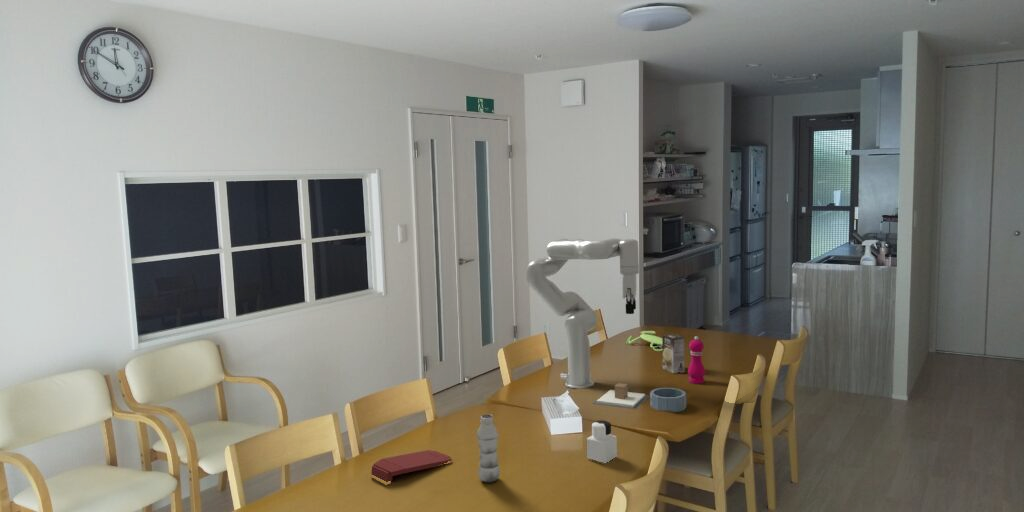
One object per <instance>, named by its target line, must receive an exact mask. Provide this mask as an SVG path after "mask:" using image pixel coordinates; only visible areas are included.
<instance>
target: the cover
mask: <svg viewBox="0 0 1024 512" xmlns="http://www.w3.org/2000/svg"><path fill="white" fill-rule="evenodd" d="M607 391H608V392H607ZM607 391H606V392H607V393H606V392H605V393H606V394H605V393H604V395H603V394H602V395H603V396H602V395H601V396H602V397H601V396H600V397H601V398H600V397H598V398H599V399H598V400H597V399H596V400H597V403H601V404H608V405H616V406H624V407H632V408H633V407H635V406H636V405H637V404H638V403H639V402H640V401H641V400H642V399H643V398H644V397H645V395H646V393H639V392H631V391H629V390H628V384H627V383H621V382H619V383H618V382H617V383H616V384H615V385H614V389H609V390H607Z"/></svg>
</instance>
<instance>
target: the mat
mask: <svg viewBox="0 0 1024 512" xmlns="http://www.w3.org/2000/svg"><path fill="white" fill-rule="evenodd" d="M608 391H609V390H607V391H606V392H605V393H604V394H606V393H607V392H608ZM604 394H602V395H600V396H599V397H598V399H599V398H601V397H602V396H603V395H604ZM648 398H650V395H647V394H645V397H644V398H643V399H642V400H641V401H640V402H639V403H638V404H637V405H636V406H635V407H633V408H632V407H624V406H616V405H608V404H601V403H597V400H598V399H596V400H594V401H593V402H592V403H591V404H592V405H597V406H598V405H599V406H605V407H612V408H613V407H615V408H623V409H629V410H637V409H638V408H639V407H640V406H641V405H643V403H645V402H646V401H647V400H648Z"/></svg>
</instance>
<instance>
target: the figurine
mask: <svg viewBox="0 0 1024 512" xmlns="http://www.w3.org/2000/svg"><path fill="white" fill-rule="evenodd" d="M656 334H657V331H654V330H643V331H640V334H639V335H640V336H638V337H636V338H633V337H634V336H633V335H630V336H629V337H628V338H627V340H626V342H625V345H629V344H630V345H631V344H633V343H634V342H636V341H638V340H640V339H641V340H643V341H645V342H648V343H650V344H649V345H650V346H649V347H650V348H652V350H653V351H655V352H663V343H662V337H660V336H656ZM653 345H656V346H653ZM658 348H660V349H658Z"/></svg>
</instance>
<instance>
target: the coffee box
mask: <svg viewBox="0 0 1024 512" xmlns="http://www.w3.org/2000/svg"><path fill="white" fill-rule="evenodd" d="M661 338H662V343H663V346H662V349H663V351H662V370H664V371H667V372H668V373H672V374H673V373H674V374H679V373H678V372H680V373H685V337H684V336H683V335H682V336H681V335H679V334H676V333H668V334H662V337H661Z"/></svg>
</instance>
